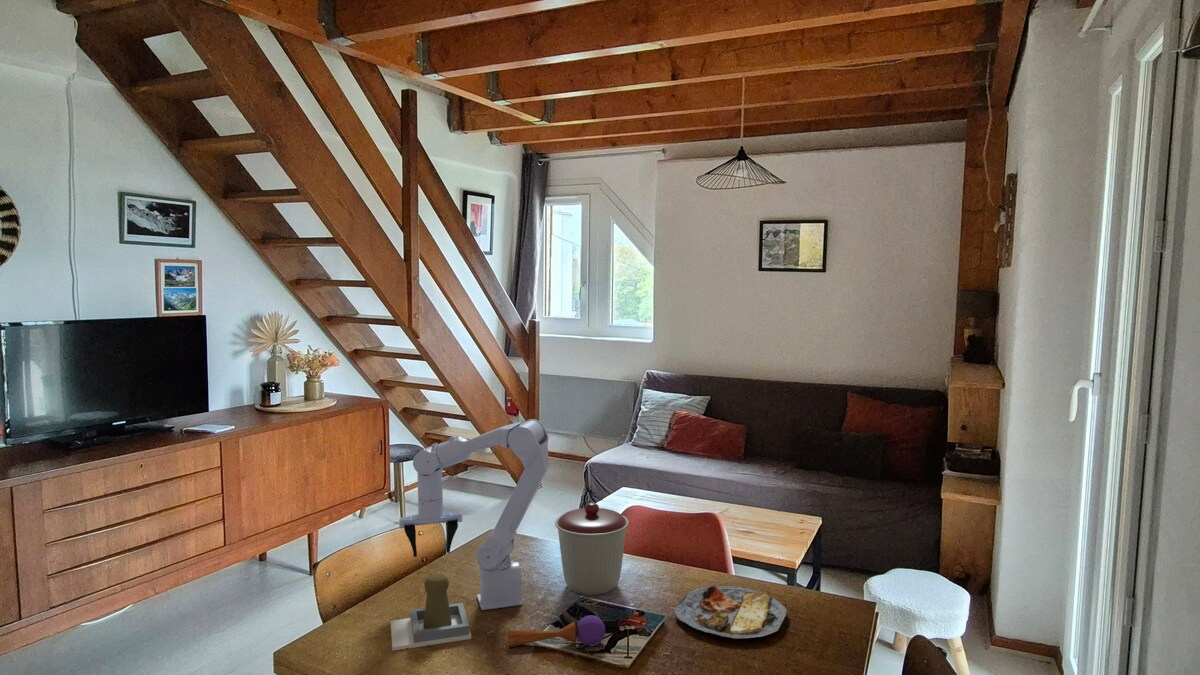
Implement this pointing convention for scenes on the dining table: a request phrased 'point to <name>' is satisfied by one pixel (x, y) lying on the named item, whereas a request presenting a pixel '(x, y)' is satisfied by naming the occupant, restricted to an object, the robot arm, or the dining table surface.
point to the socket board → (415, 635)
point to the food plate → (717, 604)
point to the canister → (591, 548)
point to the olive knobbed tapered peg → (437, 602)
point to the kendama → (563, 633)
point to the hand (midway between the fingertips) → (431, 553)
